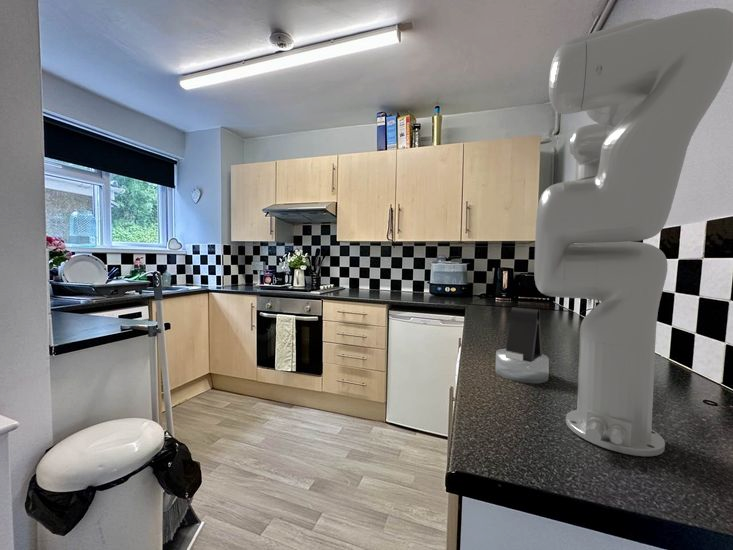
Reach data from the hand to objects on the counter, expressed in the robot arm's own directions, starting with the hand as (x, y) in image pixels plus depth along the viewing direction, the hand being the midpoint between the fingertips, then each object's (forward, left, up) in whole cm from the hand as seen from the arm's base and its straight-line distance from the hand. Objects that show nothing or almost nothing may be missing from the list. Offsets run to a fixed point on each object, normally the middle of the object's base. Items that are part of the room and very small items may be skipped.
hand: (590, 256), depth 76 cm
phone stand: (-11, +11, -26) cm, 30 cm away
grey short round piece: (-11, +12, -30) cm, 34 cm away
